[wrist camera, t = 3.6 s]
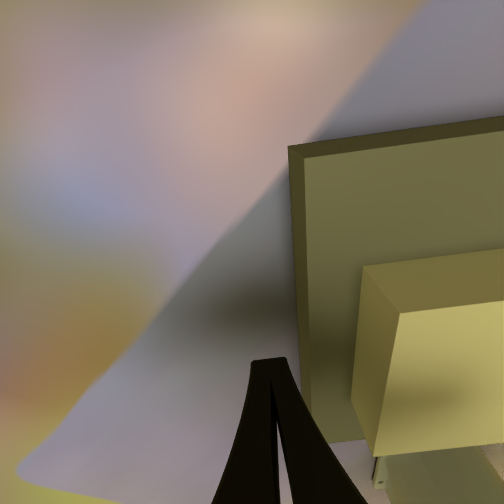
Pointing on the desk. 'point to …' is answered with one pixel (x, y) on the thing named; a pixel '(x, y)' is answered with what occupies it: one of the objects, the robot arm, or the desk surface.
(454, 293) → the tile
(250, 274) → the desk surface
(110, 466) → the desk surface
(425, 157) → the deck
